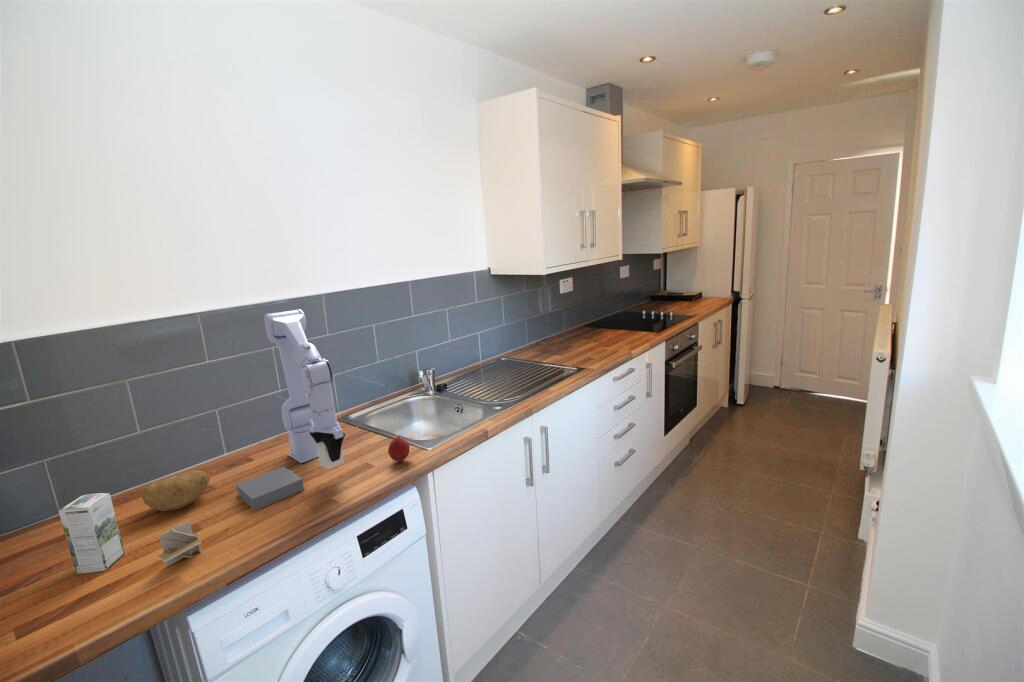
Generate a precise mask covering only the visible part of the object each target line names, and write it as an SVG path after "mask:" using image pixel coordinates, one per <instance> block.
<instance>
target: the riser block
mask: <svg viewBox="0 0 1024 682" xmlns="http://www.w3.org/2000/svg"><path fill="white" fill-rule="evenodd" d="M235 486H236V490H237V493H238V494H237V495H238V496H239V497H240V498H241V499H242V500H243V501H244V502H246V504H247V505H248V506H249V507H250V508H252V509H253V510H254V511H257V510H260V509H262V508H264V507H267V506H268V505H271V504H274V503H276V502H278V501H281V500H283V499H285V498H287V497H290V496H292V495H295V494H297V493H299V492H302V491H304V490H305V486H304V481H303V478H302V477H300V476H299V475H298V474H296V473H294V472H293V471H292V470H290V469H288V468H287V467H286V466H285V465H284V466H281V467H279V468H275V469H273V470H271V471H268V472H265V473H262V474H260V475H258V476H255V477H252V478H250V479H246V480H244V481H241V482H239V483H237V484H236V485H235Z"/></svg>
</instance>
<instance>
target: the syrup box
mask: <svg viewBox="0 0 1024 682" xmlns="http://www.w3.org/2000/svg"><path fill="white" fill-rule="evenodd" d="M58 513H59V517H60V522H61V524H62V525H61V526H62V528H63V532H64V535H65V539H66V543H67V545H68V549H69V553H70V557H71V560H72V563H73V566H74V570H75V573H76V575H83V574H90V573H98V572H105V571H107V570H108V569H109V568H110V567H111V566H113V565H114V564H115V563H116V562H117V561H118V560H119V559H120V558H122V557H123V555H125V548H124V545H123V540H122V536H121V533H120V532H121V531H120V528H119V525H118V522H117V521H118V520H117V517H116V513H115V510H114V504H113V501H112V498H111V494H110V493H107V492H105V493H103V492H100V493H90V494H89V493H87V494H83V495H81V496H79V497H77V498H76V499H75V500H73V501H71V502H70V503H68V504H67V505H65V506H64V507H62V508H60V509H59V510H58Z"/></svg>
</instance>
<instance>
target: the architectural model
mask: <svg viewBox="0 0 1024 682" xmlns="http://www.w3.org/2000/svg"><path fill="white" fill-rule="evenodd" d="M158 537H159V540H160V543H161V547H162V548H161V549H162V551H163V552H162V553H160V554H158V555H157V556H156V557H157V559H159V560H161V561H162V562H163V563H166V566H167V567H169V566H172V565H173V564H175V563H176V562H179V561H180V560H182V559H184V558H188V559H191V557H192V558H193V553H196V552H198V551H199V553H200V552H201V553H203V552H202V548H201V544H202V541H201V540H199V537H198V534H197V532H195V533H194V534H193V530H192V525H191V521H190V520H188V521H186V522H184V523H182V524H180V525H178V526H176V527H174V528H171V529H170V530H168V531H167V530H166V531H165V532H164V533H161V534H160V535H159V536H158ZM189 554H190V555H189Z"/></svg>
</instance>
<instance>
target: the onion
mask: <svg viewBox="0 0 1024 682" xmlns="http://www.w3.org/2000/svg"><path fill="white" fill-rule="evenodd" d="M387 451H388V452H387V453H388V456H389V457H390V458H391V460H393V461H394V462H397V463H403V461H404V460H405V459H406V458H407V457H408V456H409V455H410V445H409V443H408V442H407V441H406V440H405V439H403V438H401V436H400V435H399V434H397V435H395V438H394V439H393V440H392V441H391V442H389V445H388V448H387Z"/></svg>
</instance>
